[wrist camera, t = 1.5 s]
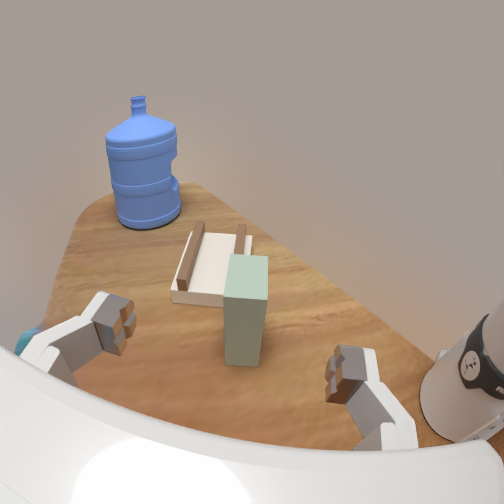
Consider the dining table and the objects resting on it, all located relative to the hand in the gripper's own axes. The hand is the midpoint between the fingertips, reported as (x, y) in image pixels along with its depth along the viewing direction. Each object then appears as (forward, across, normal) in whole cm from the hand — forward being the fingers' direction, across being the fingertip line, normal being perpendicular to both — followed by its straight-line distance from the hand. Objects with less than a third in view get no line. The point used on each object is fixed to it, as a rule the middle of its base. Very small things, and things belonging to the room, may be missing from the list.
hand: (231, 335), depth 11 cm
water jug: (+51, +28, +25) cm, 63 cm away
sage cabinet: (+20, 0, +26) cm, 32 cm away
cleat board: (+34, +7, +25) cm, 43 cm away
